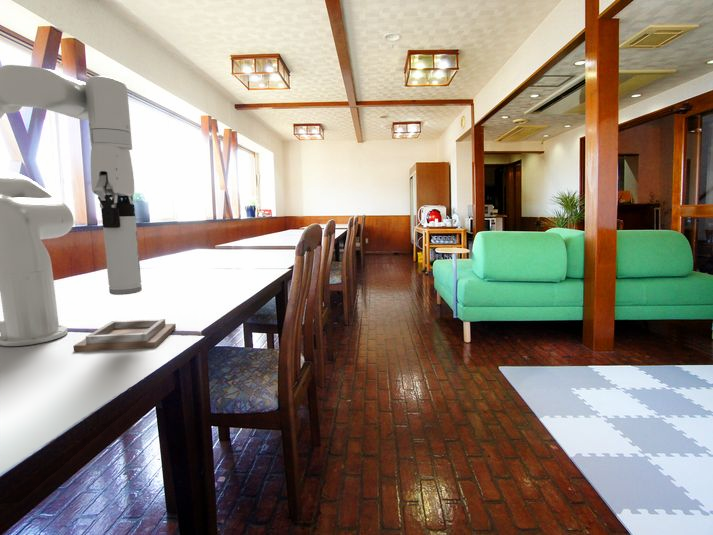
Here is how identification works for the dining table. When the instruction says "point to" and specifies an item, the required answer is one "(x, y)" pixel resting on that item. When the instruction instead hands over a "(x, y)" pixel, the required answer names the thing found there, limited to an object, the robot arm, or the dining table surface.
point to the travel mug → (123, 253)
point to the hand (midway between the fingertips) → (119, 226)
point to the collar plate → (127, 335)
